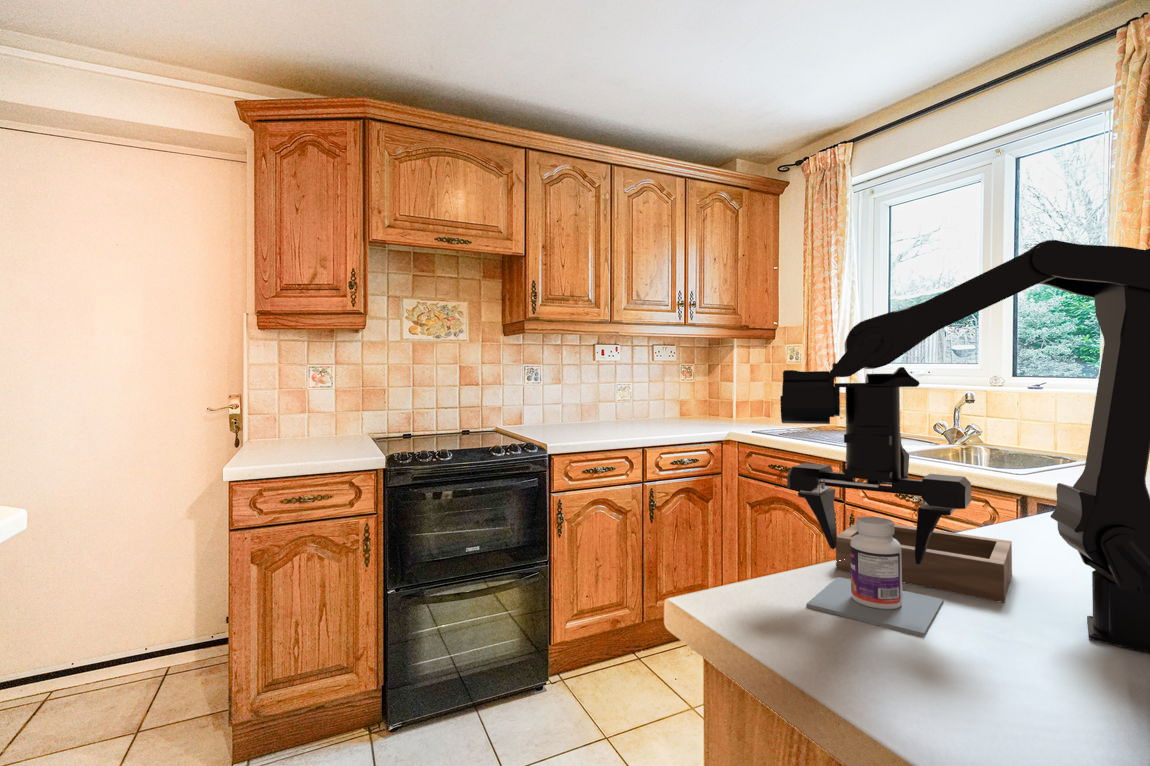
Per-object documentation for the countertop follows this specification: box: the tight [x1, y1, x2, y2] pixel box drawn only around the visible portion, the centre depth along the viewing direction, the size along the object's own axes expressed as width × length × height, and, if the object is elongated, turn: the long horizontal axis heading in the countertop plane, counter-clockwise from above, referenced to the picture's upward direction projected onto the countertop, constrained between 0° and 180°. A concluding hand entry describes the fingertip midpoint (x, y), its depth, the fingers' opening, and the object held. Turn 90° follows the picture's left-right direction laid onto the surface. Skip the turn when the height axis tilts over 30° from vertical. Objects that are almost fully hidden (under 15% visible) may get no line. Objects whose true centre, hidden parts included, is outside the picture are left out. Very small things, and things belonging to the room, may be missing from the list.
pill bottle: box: [850, 516, 903, 609], centre depth 66 cm, size 5×5×10 cm
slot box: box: [835, 522, 1013, 603], centre depth 77 cm, size 13×19×5 cm
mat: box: [805, 576, 944, 638], centre depth 66 cm, size 12×12×1 cm
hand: (873, 555), depth 66 cm, fingers open, 9 cm apart
